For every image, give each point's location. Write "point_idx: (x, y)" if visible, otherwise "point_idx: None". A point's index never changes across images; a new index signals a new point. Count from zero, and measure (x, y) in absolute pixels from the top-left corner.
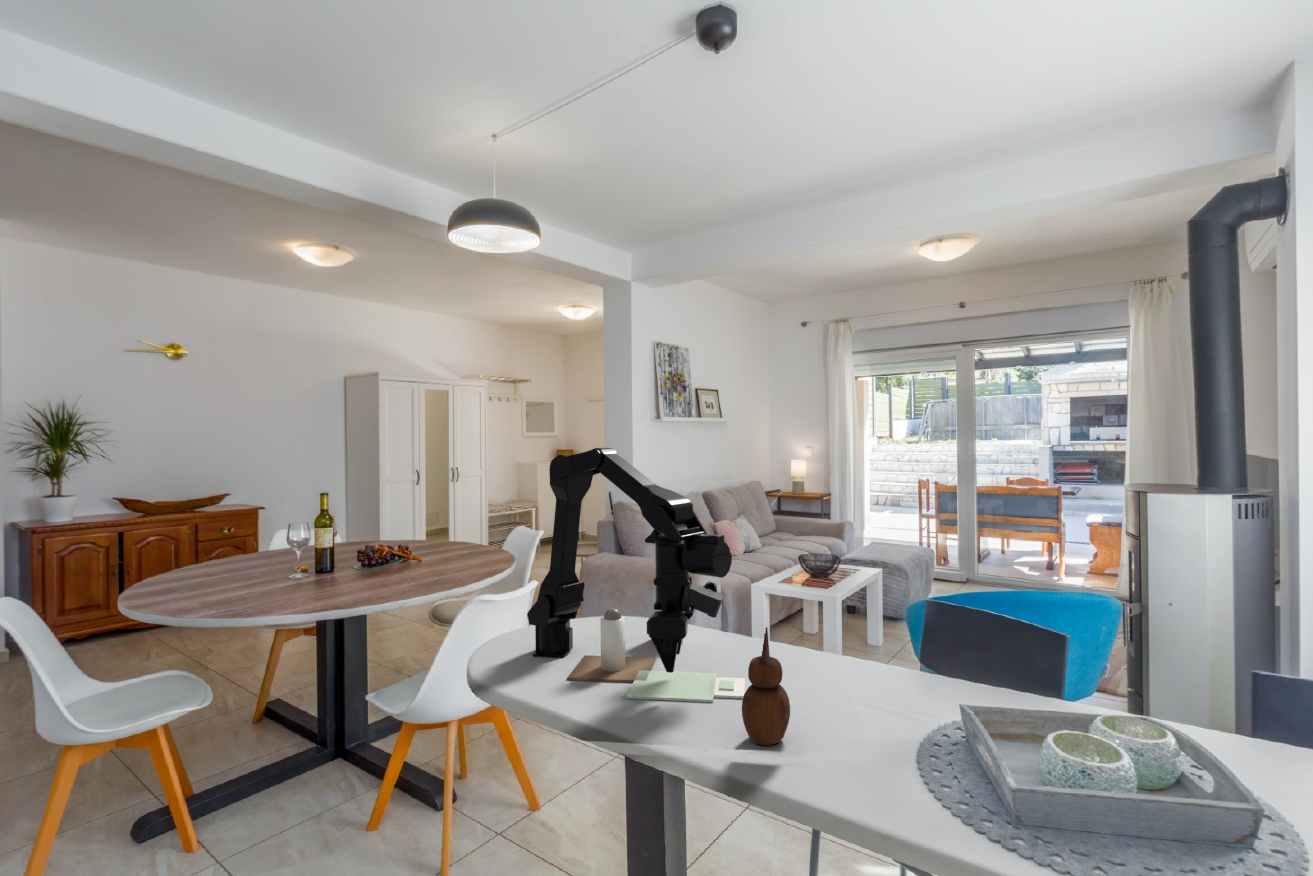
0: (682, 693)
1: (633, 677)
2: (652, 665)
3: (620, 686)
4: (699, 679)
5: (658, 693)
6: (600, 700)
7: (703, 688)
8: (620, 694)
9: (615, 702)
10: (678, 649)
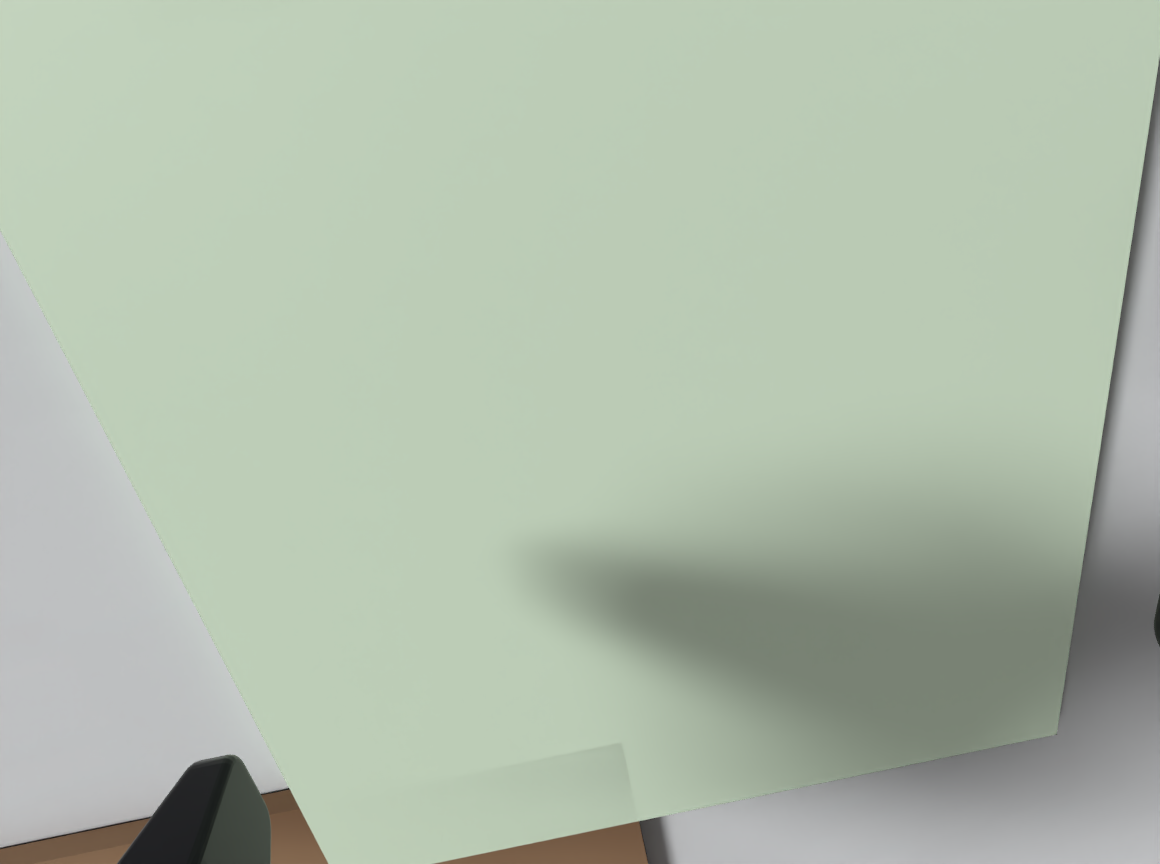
0: (957, 269)
1: (564, 851)
2: (112, 844)
3: (750, 848)
4: (345, 193)
5: (978, 521)
6: (1079, 843)
7: (722, 16)
8: (940, 784)
9: (1124, 751)
10: (229, 834)
